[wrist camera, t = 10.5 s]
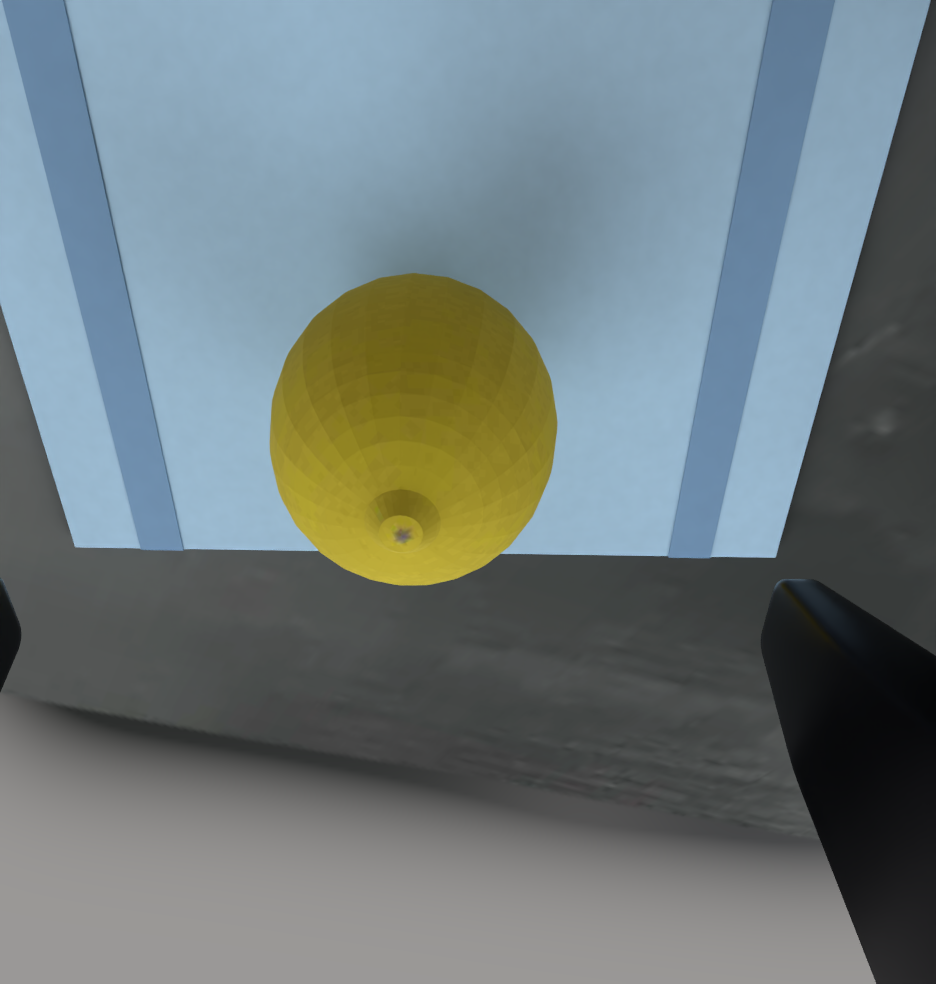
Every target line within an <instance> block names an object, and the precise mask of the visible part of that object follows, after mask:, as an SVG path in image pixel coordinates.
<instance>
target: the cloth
mask: <svg viewBox="0 0 936 984" xmlns="http://www.w3.org/2000/svg"><path fill="white" fill-rule="evenodd" d="M930 1H931V0H0V304H1V307H2V311H3V314H4V317H5V320H6V324H7V327H8V330H9V333H10V337H11V340H12V343H13V346H14V350H15V353H16V356H17V359H18V363H19V366H20V369H21V372H22V376H23V379H24V382H25V385H26V389H27V392H28V395H29V398H30V402H31V405H32V408H33V411H34V415H35V418H36V421H37V424H38V428H39V431H40V434H41V437H42V441H43V444H44V447H45V450H46V454H47V457H48V460H49V463H50V467H51V470H52V473H53V477H54V480H55V483H56V486H57V490H58V493H59V496H60V499H61V503H62V506H63V509H64V512H65V516H66V519H67V522H68V525H69V529H70V532H71V535H72V538H73V542H74V545H75V547H96V548H141V550H184V549H231V550H298V551H319V550H318V549H317V548H316V547H315V546H314V545H313V544H312V543H311V542H310V540H309V539H308V538H307V537H306V536H305V535H304V534H303V533H302V532H301V531H300V529H299V528H298V527H297V526H296V525H295V523H294V521H293V519H292V517H291V515H290V514H289V512H288V510H287V508H286V506H285V504H284V503H283V501H282V499H281V496H280V494H279V491H278V487H277V483H276V479H275V474H274V470H273V466H272V462H271V456H270V444H269V441H270V423H271V407H272V399H273V395H274V391H275V388H276V385H277V382H278V380H279V377H280V374H281V371H282V368H283V365H284V362H285V360H286V357H287V355H288V353H289V351H290V350H291V348H292V347H293V345H294V344H295V342H296V341H297V340H298V338H299V337H300V335H301V334H302V333H303V331H304V330H305V328H306V327H307V326H308V324H309V323H310V322H311V320H312V319H313V318H314V317H315V316H316V315H317V314H318V313H319V312H321V311H322V310H323V309H324V308H326V307H327V306H328V305H330V304H331V303H332V302H333V301H335V300H336V299H337V298H339V297H340V296H341V295H342V294H344V293H345V292H347V291H349V290H352V289H354V288H356V287H359V286H361V285H363V284H366V283H368V282H371V281H373V280H375V279H378V278H381V277H388V276H395V275H402V274H409V273H419V274H427V275H435V276H443V277H449V278H452V279H454V280H457V281H460V282H462V283H465V284H467V285H470V286H473V287H475V288H478V289H480V290H482V291H483V292H485V293H486V294H487V295H489V296H490V297H492V298H493V299H494V300H496V301H497V302H499V303H500V304H501V305H503V306H504V307H506V308H507V309H508V310H509V311H510V312H511V313H512V314H513V315H514V317H515V318H516V319H517V320H518V322H519V323H520V324H521V325H522V326H523V328H524V329H525V330H526V331H527V332H528V334H529V335H530V336H531V337H532V339H533V340H534V342H535V344H536V346H537V348H538V351H539V353H540V355H541V357H542V359H543V362H544V364H545V366H546V368H547V370H548V373H549V375H550V378H551V382H552V388H553V394H554V401H555V407H556V413H557V422H558V424H557V436H556V444H555V451H554V459H553V466H552V471H551V474H550V478H549V481H548V483H547V485H546V488H545V490H544V492H543V495H542V497H541V499H540V502H539V504H538V506H537V509H536V511H535V513H534V515H533V517H532V518H531V520H530V521H529V522H528V523H527V525H526V526H525V527H524V529H523V530H522V531H521V532H520V534H519V535H518V536H517V537H516V539H515V540H514V541H513V543H512V544H511V545H510V546H509V547H508V548H507V549H506V550H504V551H503V552H502V553H501V554H568V555H636V556H668V558H710V557H771V558H774V557H776V554H777V550H778V547H779V543H780V540H781V536H782V532H783V529H784V525H785V522H786V518H787V515H788V511H789V507H790V504H791V500H792V497H793V493H794V489H795V486H796V482H797V479H798V475H799V471H800V468H801V464H802V461H803V457H804V454H805V450H806V446H807V443H808V439H809V436H810V432H811V428H812V425H813V421H814V418H815V414H816V410H817V407H818V403H819V400H820V396H821V393H822V389H823V385H824V382H825V378H826V375H827V371H828V367H829V364H830V360H831V357H832V353H833V349H834V346H835V342H836V339H837V335H838V332H839V328H840V324H841V321H842V317H843V314H844V310H845V306H846V303H847V299H848V296H849V292H850V288H851V285H852V281H853V278H854V274H855V270H856V267H857V263H858V260H859V256H860V253H861V249H862V245H863V242H864V238H865V235H866V231H867V227H868V224H869V220H870V217H871V213H872V209H873V206H874V202H875V199H876V195H877V192H878V188H879V184H880V181H881V177H882V174H883V170H884V166H885V163H886V159H887V156H888V152H889V148H890V145H891V141H892V138H893V134H894V131H895V127H896V123H897V120H898V116H899V113H900V109H901V105H902V102H903V98H904V95H905V91H906V87H907V84H908V80H909V77H910V73H911V70H912V66H913V62H914V59H915V55H916V52H917V48H918V44H919V41H920V37H921V34H922V30H923V26H924V23H925V19H926V16H927V12H928V8H929V5H930Z"/></svg>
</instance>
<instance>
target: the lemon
mask: <svg viewBox="0 0 936 984" xmlns="http://www.w3.org/2000/svg"><path fill="white" fill-rule="evenodd" d="M557 424H558V422H557V413H556V407H555V401H554V394H553V388H552V382H551V378H550V375H549V373H548V370H547V368H546V366H545V364H544V362H543V359H542V357H541V355H540V353H539V351H538V348H537V346H536V344H535V342H534V340H533V339H532V337H531V336H530V335H529V334H528V332H527V331H526V330H525V329H524V328H523V326H522V325H521V324H520V323H519V322H518V320H517V319H516V318H515V317H514V315H513V314H512V313H511V312H510V311H509V310H508V309H507V308H506V307H504V306H503V305H501V304H500V303H499V302H497V301H496V300H494V299H493V298H492V297H490V296H489V295H487V294H486V293H485V292H483V291H482V290H480V289H478V288H475V287H473V286H470V285H467V284H465V283H462V282H460V281H457V280H454V279H452V278H449V277H443V276H435V275H427V274H419V273H409V274H402V275H395V276H388V277H381V278H378V279H375V280H373V281H371V282H368V283H366V284H363V285H361V286H359V287H356V288H354V289H352V290H349V291H347V292H345V293H344V294H342V295H341V296H340V297H339V298H337V299H336V300H335V301H333V302H332V303H331V304H330V305H328V306H327V307H326V308H324V309H323V310H322V311H321V312H319V313H318V314H317V315H316V316H315V317H314V318H313V319H312V320H311V322H310V323H309V324H308V326H307V327H306V328H305V330H304V331H303V333H302V334H301V335H300V337H299V338H298V340H297V341H296V342H295V344H294V345H293V347H292V348H291V350H290V351H289V353H288V355H287V357H286V360H285V362H284V365H283V368H282V371H281V374H280V377H279V380H278V382H277V385H276V388H275V391H274V395H273V399H272V407H271V423H270V441H269V444H270V456H271V462H272V466H273V470H274V474H275V479H276V483H277V487H278V491H279V494H280V496H281V499H282V501H283V503H284V504H285V506H286V508H287V510H288V512H289V514H290V515H291V517H292V519H293V521H294V523H295V525H296V526H297V527H298V528H299V529H300V531H301V532H302V533H303V534H304V535H305V536H306V537H307V538H308V539H309V540H310V542H311V543H312V544H313V545H314V546H315V547H316V548H317V549H318V550H319V551H320V552H321V553H322V554H323V555H325V556H326V557H328V558H329V559H331V560H332V561H334V562H335V563H336V564H338V565H339V566H341V567H342V568H344V569H346V570H348V571H351V572H353V573H356V574H358V575H361V576H363V577H365V578H368V579H370V580H375V581H380V582H385V583H390V584H395V585H430V584H435V583H439V582H444V581H449V580H453V579H456V578H459V577H461V576H463V575H465V574H468V573H470V572H472V571H474V570H477V569H479V568H481V567H482V566H484V565H486V564H487V563H488V562H490V561H491V560H492V559H494V558H495V557H496V556H498V555H499V554H500V553H502V552H503V551H504V550H506V549H507V548H508V547H509V546H510V545H511V544H512V543H513V541H514V540H515V539H516V537H517V536H518V535H519V534H520V532H521V531H522V530H523V529H524V527H525V526H526V525H527V523H528V522H529V521H530V520H531V518H532V517H533V515H534V513H535V511H536V509H537V506H538V504H539V502H540V499H541V497H542V495H543V492H544V490H545V488H546V485H547V483H548V481H549V478H550V474H551V471H552V466H553V459H554V451H555V444H556V436H557Z"/></svg>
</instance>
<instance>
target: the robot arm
mask: <svg viewBox="0 0 936 984" xmlns="http://www.w3.org/2000/svg"><path fill="white" fill-rule="evenodd" d="M20 641H21V627H20V623H19V621H18V618H17V616H16V613H15V611H14V608H13V605H12V603H11V600H10V598H9V595H8V592H7V590H6V587H5V585H4V582H3V580H2V579H1V578H0V692H1V689H2V687H3V685H4V682H5V680H6V678H7V675H8V673H9V670H10V668H11V666H12V663H13V661H14V659H15V656H16V654H17V651H18V649H19V646H20ZM761 649H762V655H763V659H764V663H765V666H766V670H767V674H768V678H769V681H770V685H771V689H772V693H773V697H774V700H775V704H776V708H777V712H778V715H779V719H780V723H781V727H782V730H783V734H784V738H785V742H786V746H787V749H788V753H789V756H790V760H791V763H792V766H793V770H794V773H795V776H796V778H797V781H798V784H799V787H800V789H801V792H802V795H803V797H804V800H805V802H806V805H807V807H808V810H809V813H810V815H811V818H812V820H813V823H814V825H815V828H816V830H817V833H818V836H819V838H820V841H821V843H822V846H823V848H824V851H825V853H826V856H827V859H828V861H829V864H830V866H831V869H832V871H833V874H834V876H835V879H836V881H837V884H838V887H839V889H840V892H841V894H842V897H843V899H844V902H845V905H846V907H847V910H848V912H849V915H850V917H851V920H852V922H853V925H854V927H855V930H856V933H857V935H858V937H859V940H860V943H861V945H862V948H863V950H864V953H865V955H866V958H867V961H868V963H869V966H870V968H871V971H872V973H873V975H874V979H875V980H876V984H936V656H935V655H934V654H932V653H930V652H929V651H927V650H926V649H924V648H923V647H921V646H919V645H918V644H916V643H915V642H913V641H912V640H910V639H908V638H907V637H905V636H904V635H902V634H901V633H899V632H897V631H896V630H894V629H893V628H891V627H890V626H888V625H886V624H885V623H883V622H882V621H880V620H879V619H877V618H875V617H874V616H872V615H871V614H869V613H868V612H866V611H864V610H863V609H861V608H860V607H858V606H857V605H855V604H853V603H852V602H850V601H849V600H847V599H846V598H844V597H842V596H841V595H839V594H838V593H836V592H835V591H833V590H831V589H830V588H828V587H827V586H825V585H824V584H822V583H820V582H819V581H816V580H812V579H783V580H781V581H779V582H778V583H777V584H776V586H775V588H774V590H773V594H772V597H771V601H770V604H769V608H768V612H767V615H766V619H765V623H764V626H763V630H762V634H761Z"/></svg>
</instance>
